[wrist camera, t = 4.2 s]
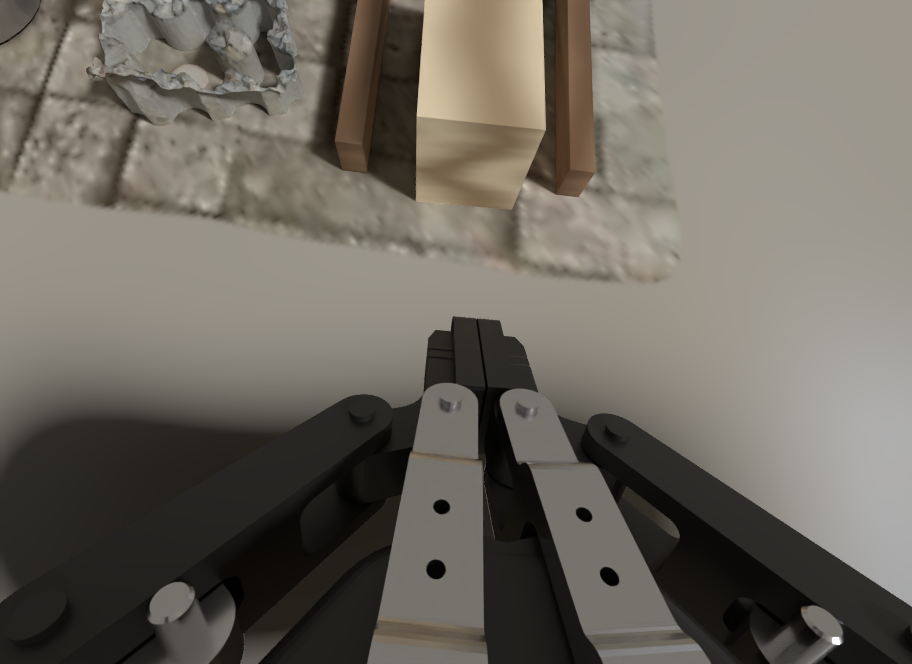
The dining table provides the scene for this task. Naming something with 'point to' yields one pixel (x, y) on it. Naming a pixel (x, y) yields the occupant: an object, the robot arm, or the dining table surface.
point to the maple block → (479, 100)
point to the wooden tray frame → (569, 92)
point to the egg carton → (185, 27)
